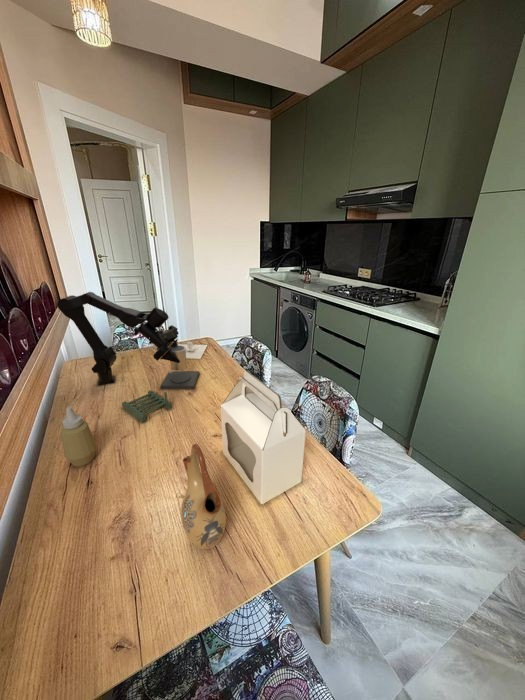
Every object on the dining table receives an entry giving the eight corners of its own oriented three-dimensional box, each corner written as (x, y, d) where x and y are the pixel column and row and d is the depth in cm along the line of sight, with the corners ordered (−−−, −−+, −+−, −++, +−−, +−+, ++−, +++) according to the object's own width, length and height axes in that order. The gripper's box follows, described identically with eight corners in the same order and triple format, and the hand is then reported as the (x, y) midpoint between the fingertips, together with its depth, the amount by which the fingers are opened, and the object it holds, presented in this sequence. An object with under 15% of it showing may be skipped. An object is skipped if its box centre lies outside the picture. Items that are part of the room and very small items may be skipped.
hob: (160, 389, 123) (160, 384, 123) (169, 374, 136) (169, 369, 136) (193, 389, 124) (193, 384, 123) (199, 374, 137) (199, 369, 136)
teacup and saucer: (195, 352, 160) (195, 345, 159) (181, 352, 160) (180, 345, 159) (198, 346, 168) (198, 340, 167) (185, 346, 168) (184, 339, 167)
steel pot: (167, 368, 126) (165, 349, 122) (177, 362, 132) (176, 344, 128) (180, 372, 123) (178, 352, 120) (190, 365, 129) (189, 346, 126)
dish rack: (122, 408, 110) (119, 391, 107) (151, 395, 119) (148, 379, 116) (142, 422, 102) (139, 404, 99) (171, 408, 111) (169, 391, 108)
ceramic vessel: (175, 515, 69) (163, 430, 60) (210, 499, 74) (204, 417, 64) (197, 582, 56) (186, 487, 47) (239, 557, 61) (237, 466, 51)
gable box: (222, 452, 89) (218, 371, 78) (258, 437, 96) (259, 360, 85) (262, 506, 72) (263, 411, 61) (302, 482, 79) (310, 394, 68)
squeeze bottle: (105, 454, 87) (92, 404, 80) (79, 473, 81) (63, 420, 74) (87, 446, 90) (73, 397, 84) (61, 464, 84) (44, 412, 77)
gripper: (158, 329, 111) (189, 355, 115) (171, 315, 128) (197, 339, 132) (140, 347, 113) (171, 373, 118) (155, 332, 131) (181, 354, 135)
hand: (181, 358), depth 126 cm, fingers closed on steel pot, 6 cm apart
